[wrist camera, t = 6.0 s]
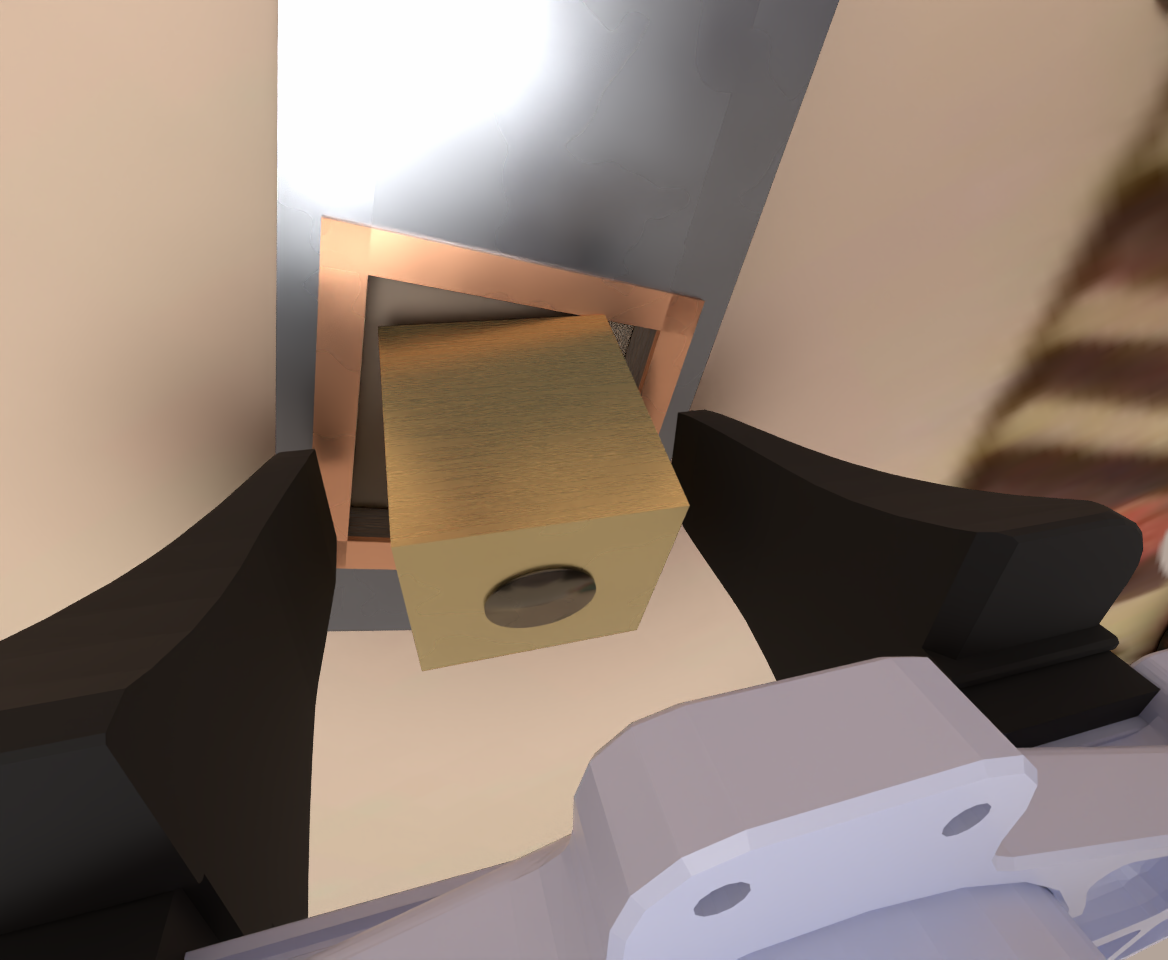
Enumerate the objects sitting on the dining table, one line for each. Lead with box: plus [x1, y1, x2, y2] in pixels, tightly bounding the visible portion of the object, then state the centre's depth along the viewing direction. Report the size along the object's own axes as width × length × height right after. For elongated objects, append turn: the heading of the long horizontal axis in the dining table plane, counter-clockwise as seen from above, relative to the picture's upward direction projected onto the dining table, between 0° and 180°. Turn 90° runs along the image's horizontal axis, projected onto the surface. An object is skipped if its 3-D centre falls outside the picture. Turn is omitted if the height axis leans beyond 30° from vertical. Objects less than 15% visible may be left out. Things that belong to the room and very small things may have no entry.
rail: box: [276, 0, 839, 631], centre depth 10 cm, size 9×26×1 cm, turn 165°
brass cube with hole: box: [378, 315, 690, 671], centre depth 12 cm, size 4×4×5 cm
